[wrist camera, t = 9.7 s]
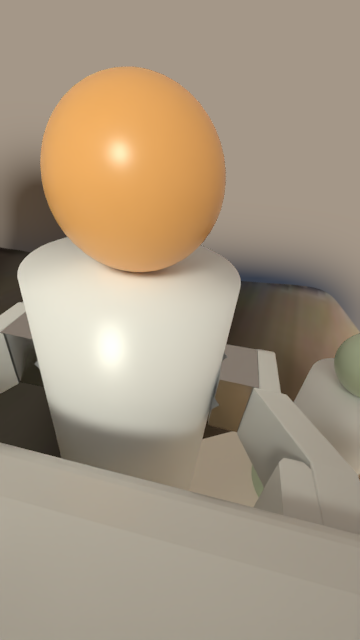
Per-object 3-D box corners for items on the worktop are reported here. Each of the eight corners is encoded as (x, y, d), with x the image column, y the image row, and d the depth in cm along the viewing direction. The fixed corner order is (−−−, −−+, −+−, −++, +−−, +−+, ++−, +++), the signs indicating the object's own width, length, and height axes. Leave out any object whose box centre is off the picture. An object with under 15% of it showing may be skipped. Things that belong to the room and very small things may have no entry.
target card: (57, 483, 20) (55, 476, 19) (290, 420, 26) (294, 414, 26) (57, 718, 12) (53, 718, 12) (384, 547, 19) (392, 542, 18)
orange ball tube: (71, 446, 13) (-6, 60, 6) (169, 423, 15) (212, 97, 7) (75, 575, 9) (-131, -38, 2) (205, 526, 11) (373, 80, 3)
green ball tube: (248, 459, 22) (314, 315, 14) (298, 444, 23) (383, 306, 16) (286, 530, 18) (405, 388, 10) (342, 506, 20) (482, 367, 12)
